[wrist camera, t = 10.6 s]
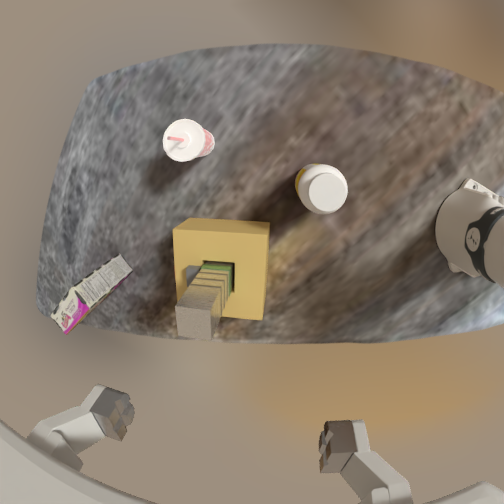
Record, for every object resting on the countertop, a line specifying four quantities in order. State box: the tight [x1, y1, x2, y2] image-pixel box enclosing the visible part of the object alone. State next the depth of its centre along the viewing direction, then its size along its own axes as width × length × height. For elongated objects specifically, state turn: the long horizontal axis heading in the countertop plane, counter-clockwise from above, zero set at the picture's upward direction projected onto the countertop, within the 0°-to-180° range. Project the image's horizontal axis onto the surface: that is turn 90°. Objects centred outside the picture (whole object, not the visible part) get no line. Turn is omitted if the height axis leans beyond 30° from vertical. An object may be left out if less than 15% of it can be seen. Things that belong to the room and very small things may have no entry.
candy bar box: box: [51, 254, 133, 335], centre depth 46 cm, size 11×5×16 cm, turn 129°
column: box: [175, 260, 235, 340], centre depth 37 cm, size 4×4×16 cm
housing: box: [173, 218, 270, 320], centre depth 45 cm, size 14×14×10 cm
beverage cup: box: [163, 119, 215, 162], centre depth 37 cm, size 6×6×14 cm
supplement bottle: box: [295, 164, 348, 214], centre depth 38 cm, size 7×7×13 cm
